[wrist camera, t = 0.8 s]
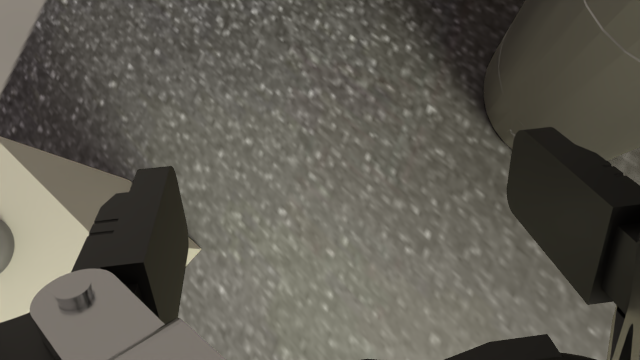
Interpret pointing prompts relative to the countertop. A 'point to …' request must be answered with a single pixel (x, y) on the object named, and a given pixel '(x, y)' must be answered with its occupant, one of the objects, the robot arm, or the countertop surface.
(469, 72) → the countertop surface
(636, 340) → the robot arm
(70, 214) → the cover
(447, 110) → the countertop surface
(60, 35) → the countertop surface
